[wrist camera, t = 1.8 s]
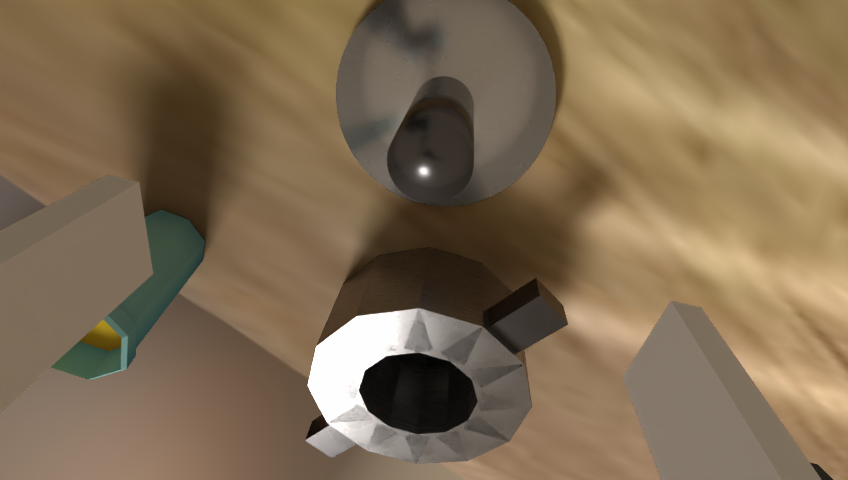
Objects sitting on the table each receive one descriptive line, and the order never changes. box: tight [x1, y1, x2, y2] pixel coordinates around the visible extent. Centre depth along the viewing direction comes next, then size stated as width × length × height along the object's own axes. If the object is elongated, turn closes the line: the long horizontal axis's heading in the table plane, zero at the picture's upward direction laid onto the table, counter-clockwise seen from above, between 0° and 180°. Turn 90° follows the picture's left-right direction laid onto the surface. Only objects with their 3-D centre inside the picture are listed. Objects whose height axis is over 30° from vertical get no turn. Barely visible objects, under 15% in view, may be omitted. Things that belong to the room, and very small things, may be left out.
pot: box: [306, 247, 568, 464], centre depth 33 cm, size 23×15×7 cm, turn 134°
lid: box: [336, 0, 556, 207], centre depth 23 cm, size 13×13×10 cm
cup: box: [51, 210, 205, 379], centre depth 27 cm, size 14×8×15 cm, turn 136°
